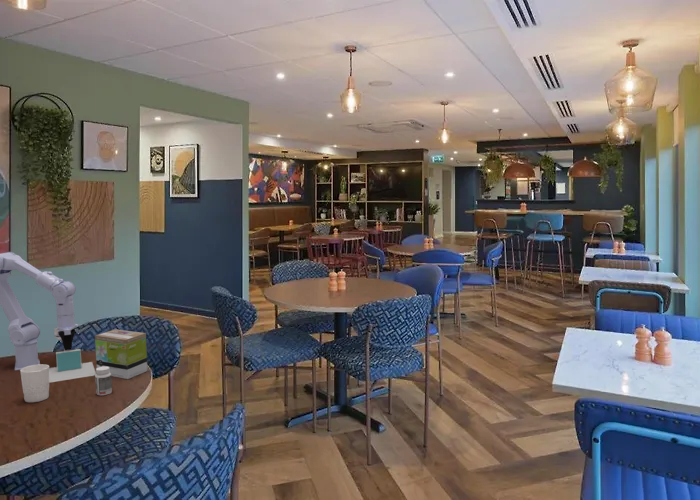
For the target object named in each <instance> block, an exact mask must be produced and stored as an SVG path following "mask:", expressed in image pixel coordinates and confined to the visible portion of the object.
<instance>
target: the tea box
mask: <svg viewBox="0 0 700 500" xmlns="http://www.w3.org/2000/svg"><path fill="white" fill-rule="evenodd" d="M94 343H95V344H94V345H95V361H96V362H95V363H96V368H99V367H104V366H107V367H109V369H110V373H111V377H115V378H121V379H125V380H130V379H133V378H135V377H137V376H139V375H142V374H145V372H148V353H147V350H148V349H147V333H146V332H140V331H131V330H125V329H124V330H123V329H116V328H114V329H112V330H108V331H105V332H103V333H99V334H96V335H94Z"/></svg>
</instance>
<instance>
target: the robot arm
mask: <svg viewBox="0 0 700 500" xmlns="http://www.w3.org/2000/svg"><path fill="white" fill-rule="evenodd" d="M14 270H15V271H18V272H19V273H21V274H24V275H26V276H28V277H29V278H32V279H34V280H35V282H36V284H37V285H38V286H39V287H41V288H42V289H43V288H44V289H45V290H46V291H48V292H50V293H51V294H52V296H53V298H54V299H55V304H56V306H55V307H56V320H57V326H56V327H57V329H59V330H61V331H59V332H58V334H59V336H60V337H61V339H62V345H63V350H64V349H65V350H66V351H70V350H72V348H73V340H74V337H75V334H76V329H75V328H78V327H79V324H78V323H76V320H75V319H76V318H75V308H74V307H75V305H74V294H75V293H76V286H75V284H74V283H73V282H72V281H71V280H66V281H64V278H59V277H58V276H56V275H55V274H54V273H53V272H52V271H47V270H46V271H41V270H40V269H38V268H37V267H35V266H33V265H32V264H30V263H29V262H27V261H25V260H24V259H22V257H21V255H18V254H16V253H14V252H13V251H8V252H7V251H6V252H1V253H0V306H1V308H2V310H3V312H4V314H5V316H6V318H7V319H8V322H9V325H8V327H7V332H8V334H9V340H10V342H11V343H12V344H13V346H14V354H15V355H14V356H15V363H14V371H20V370H21V369H22V368H24V367H27V366H31V365H38V364H41V363H40V359H39V352H38V338H39V337H40V336H41V329H40V327H39V325H38V324H37V323H35V322H34V320H33V319H32V318H31V317H28V316H27V315H26V314H25V312H24V310H23V308H22V306H21V304H20V302H19V301H18V298H17V296H16V295H15V293H14V291H13V289H12V286H11V285H10V283H9V281H8V277H9V275H10V274H11V272H13V271H14Z"/></svg>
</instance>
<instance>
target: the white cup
mask: <svg viewBox="0 0 700 500" xmlns="http://www.w3.org/2000/svg"><path fill="white" fill-rule="evenodd" d="M49 368H50V365H49V364H41V363H40V364H38V365H31V366H27V367H24V368H22V369H21V370H19V371H20V377H21V388H22V393H23V398H24V402H26V403H37V402H42V401H45V400H47V399H48V398H49V397H50V383H49Z"/></svg>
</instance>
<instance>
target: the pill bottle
mask: <svg viewBox="0 0 700 500" xmlns="http://www.w3.org/2000/svg"><path fill="white" fill-rule="evenodd" d="M95 372H96V375H95V376H94V377H95V378H94V379H95V392H96V395H97V396H106V395H110V394H112V393H113V383H112V382H113V381H112V376H111V373H110V369H109V367H107V366H104V367H99V368H97V367H96V368H95Z"/></svg>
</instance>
